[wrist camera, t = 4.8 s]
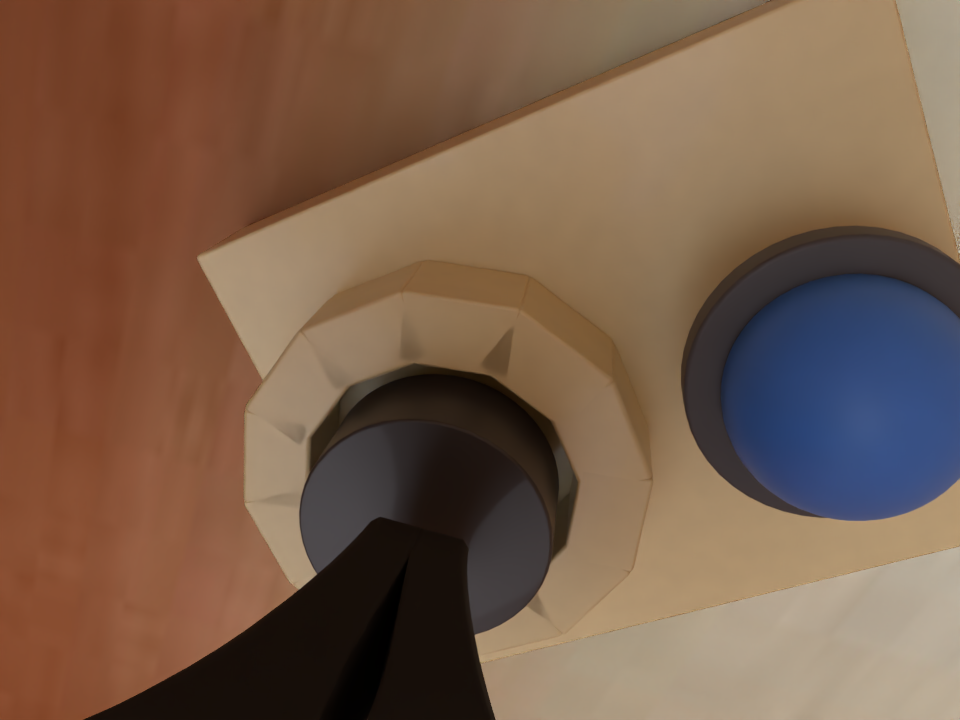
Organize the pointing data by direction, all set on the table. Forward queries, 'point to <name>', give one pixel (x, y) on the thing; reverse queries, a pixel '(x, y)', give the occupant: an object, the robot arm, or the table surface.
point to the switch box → (597, 300)
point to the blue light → (831, 374)
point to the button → (442, 484)
